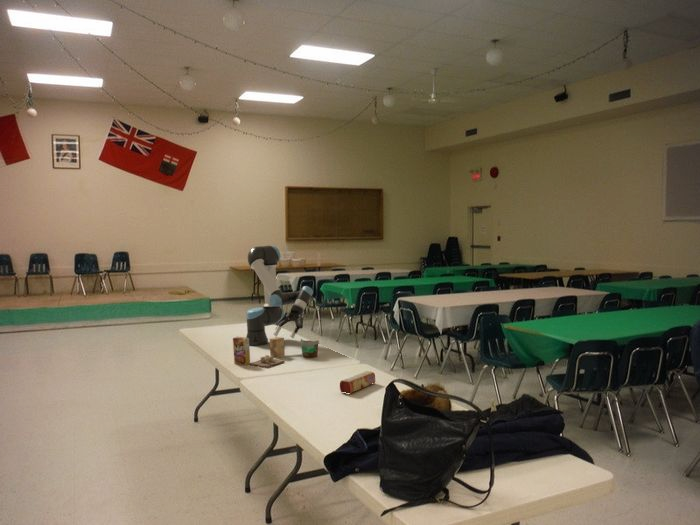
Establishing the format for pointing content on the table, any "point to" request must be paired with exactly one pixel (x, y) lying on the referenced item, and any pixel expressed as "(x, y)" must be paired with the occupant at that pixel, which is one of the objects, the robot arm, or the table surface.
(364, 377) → the snack package
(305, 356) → the food container
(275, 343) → the oak block
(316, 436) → the table surface
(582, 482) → the table surface
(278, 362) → the peg stand
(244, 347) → the candy box
